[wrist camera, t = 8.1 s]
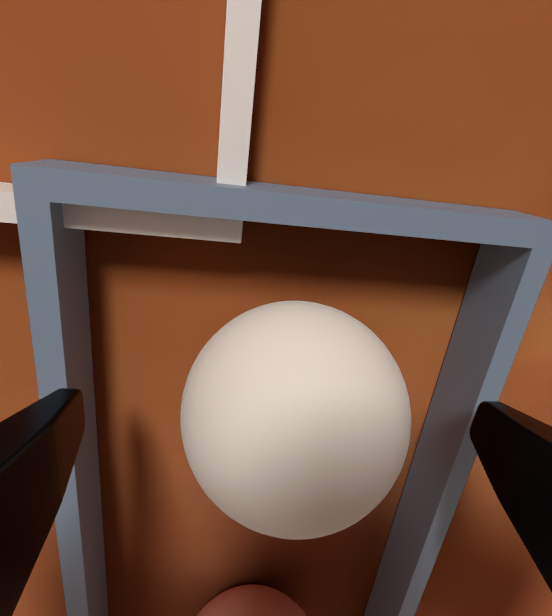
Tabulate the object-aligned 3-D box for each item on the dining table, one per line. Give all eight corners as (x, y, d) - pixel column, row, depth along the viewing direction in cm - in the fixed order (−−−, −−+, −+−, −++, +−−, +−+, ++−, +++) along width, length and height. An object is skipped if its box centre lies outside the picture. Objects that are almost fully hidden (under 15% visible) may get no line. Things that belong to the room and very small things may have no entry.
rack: (513, 210, 10) (566, 224, 9) (364, 651, 18) (379, 705, 16) (50, 158, 9) (9, 163, 7) (96, 670, 16) (81, 732, 14)
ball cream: (382, 278, 11) (500, 382, 6) (347, 428, 13) (419, 593, 8) (192, 264, 10) (168, 371, 5) (186, 426, 12) (164, 608, 7)
